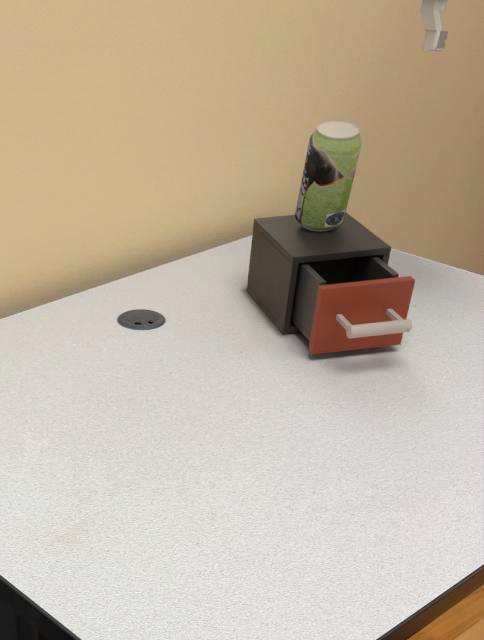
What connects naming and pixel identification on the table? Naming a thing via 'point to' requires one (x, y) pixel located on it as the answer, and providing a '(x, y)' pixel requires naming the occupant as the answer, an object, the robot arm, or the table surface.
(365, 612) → the table surface
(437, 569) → the table surface
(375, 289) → the drawer
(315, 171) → the beverage can
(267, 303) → the cabinet
